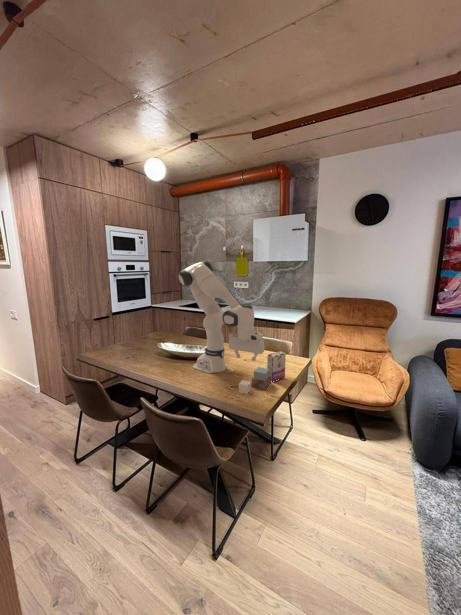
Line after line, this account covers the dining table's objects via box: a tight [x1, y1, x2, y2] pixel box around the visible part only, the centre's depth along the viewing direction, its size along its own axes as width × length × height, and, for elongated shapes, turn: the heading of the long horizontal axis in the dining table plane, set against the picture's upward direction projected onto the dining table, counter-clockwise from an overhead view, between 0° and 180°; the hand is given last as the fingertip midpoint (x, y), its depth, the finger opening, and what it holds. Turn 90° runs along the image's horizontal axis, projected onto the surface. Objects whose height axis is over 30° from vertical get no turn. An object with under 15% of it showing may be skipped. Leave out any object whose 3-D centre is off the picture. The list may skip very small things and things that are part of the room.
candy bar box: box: [266, 350, 287, 383], centre depth 157 cm, size 11×5×16 cm, turn 126°
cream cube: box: [238, 379, 252, 395], centre depth 143 cm, size 5×5×5 cm
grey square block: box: [253, 366, 269, 381], centre depth 149 cm, size 7×7×4 cm
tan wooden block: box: [251, 376, 272, 391], centre depth 150 cm, size 9×9×5 cm
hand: (246, 358), depth 140 cm, fingers open, 8 cm apart
